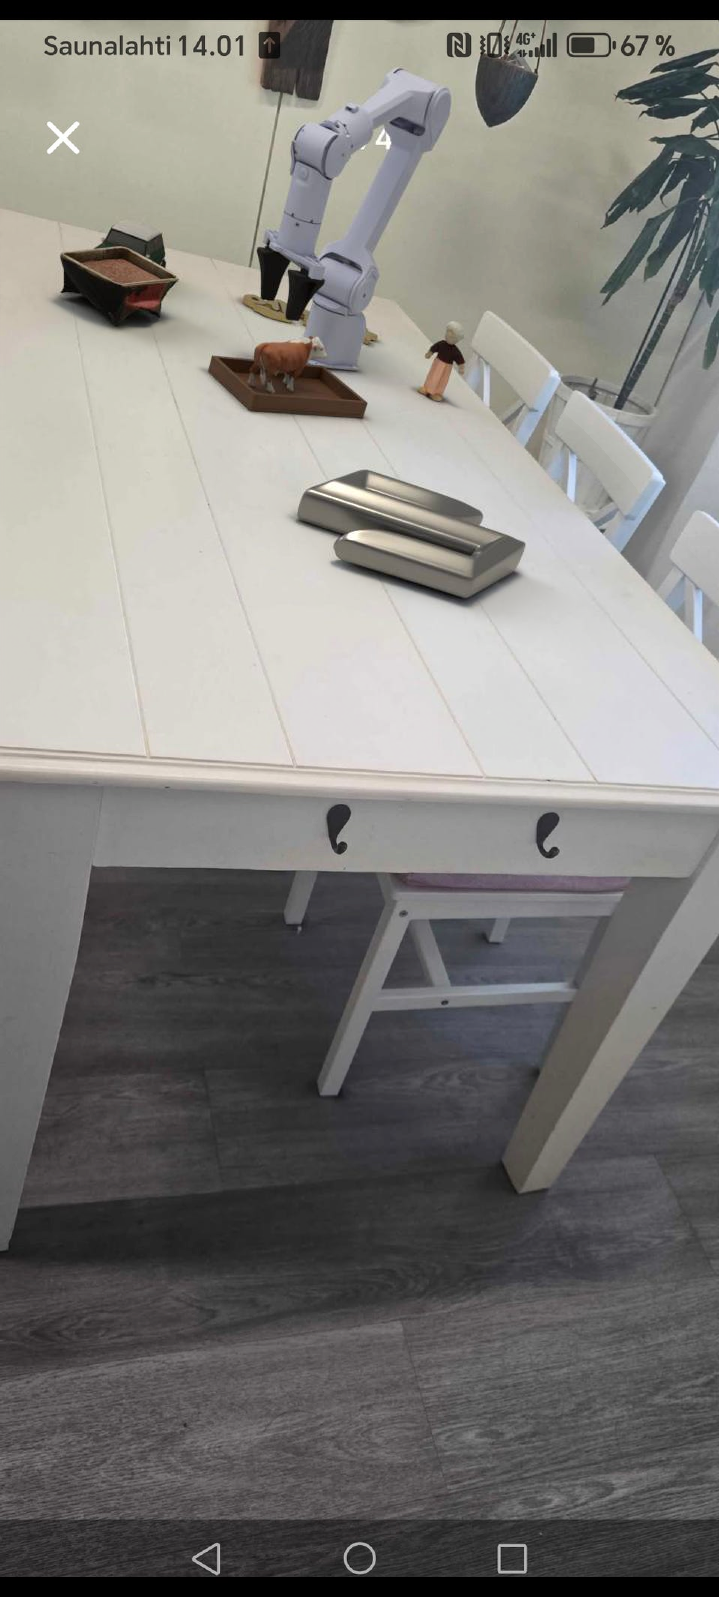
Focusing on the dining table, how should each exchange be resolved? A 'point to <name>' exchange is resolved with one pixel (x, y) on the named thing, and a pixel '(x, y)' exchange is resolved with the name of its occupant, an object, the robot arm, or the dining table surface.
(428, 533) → the emblem
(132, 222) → the miniature car
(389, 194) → the robot arm
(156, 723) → the dining table surface
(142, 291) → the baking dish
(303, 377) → the walnut tray
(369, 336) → the lettering
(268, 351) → the bull figurine
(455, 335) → the grandmother figurine
